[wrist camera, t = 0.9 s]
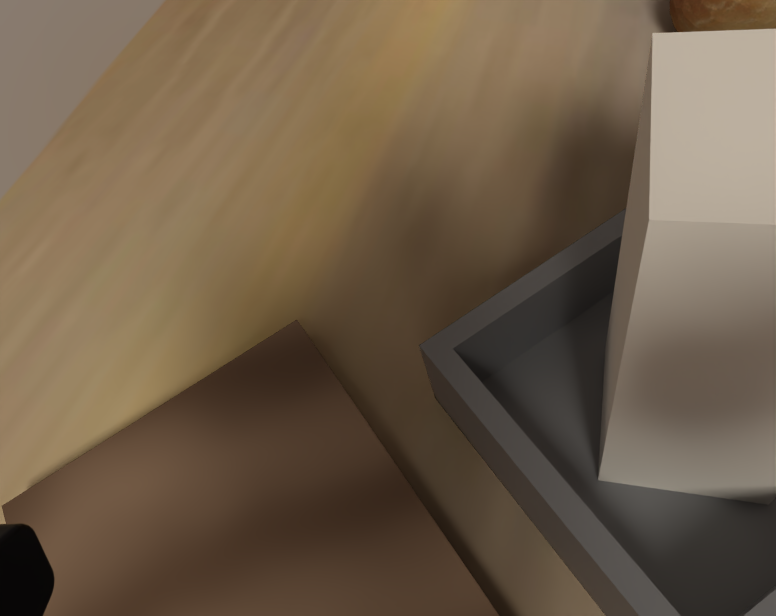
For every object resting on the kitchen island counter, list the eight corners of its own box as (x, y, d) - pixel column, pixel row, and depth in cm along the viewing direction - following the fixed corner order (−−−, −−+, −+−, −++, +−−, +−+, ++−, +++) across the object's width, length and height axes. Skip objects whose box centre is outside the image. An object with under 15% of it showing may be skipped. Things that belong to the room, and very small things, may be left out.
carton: (768, 504, 20) (1015, 233, 10) (598, 480, 22) (649, 219, 11) (757, 355, 23) (940, 14, 12) (605, 342, 24) (652, 25, 14)
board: (536, 673, 19) (536, 669, 18) (144, 982, 17) (121, 996, 16) (305, 334, 28) (296, 319, 27) (22, 515, 26) (1, 506, 25)
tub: (974, 461, 20) (1057, 406, 17) (679, 708, 18) (707, 700, 15) (675, 234, 27) (693, 163, 24) (435, 398, 25) (418, 345, 22)
